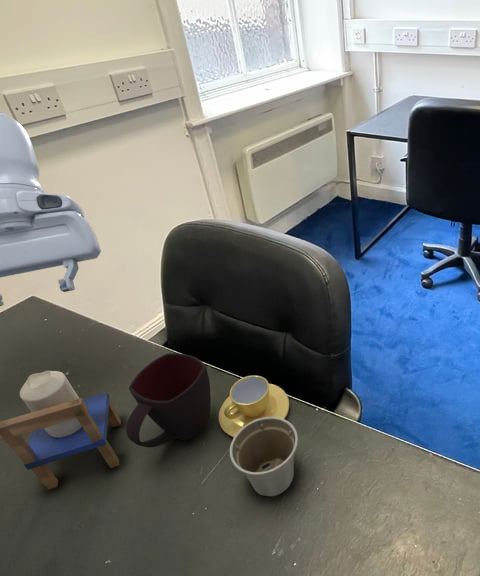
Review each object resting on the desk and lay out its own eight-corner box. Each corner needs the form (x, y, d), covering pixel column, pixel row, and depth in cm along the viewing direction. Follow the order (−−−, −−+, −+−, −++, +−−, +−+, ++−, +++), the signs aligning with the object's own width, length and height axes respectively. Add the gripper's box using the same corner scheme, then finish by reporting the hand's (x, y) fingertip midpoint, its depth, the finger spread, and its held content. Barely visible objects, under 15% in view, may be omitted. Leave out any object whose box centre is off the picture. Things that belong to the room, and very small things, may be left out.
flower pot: (269, 441, 72) (260, 407, 67) (316, 465, 69) (310, 431, 64) (228, 489, 66) (214, 456, 61) (278, 519, 62) (268, 486, 57)
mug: (231, 411, 77) (214, 362, 70) (174, 480, 67) (148, 431, 60) (186, 395, 80) (166, 347, 73) (125, 459, 70) (95, 410, 63)
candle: (39, 431, 66) (5, 386, 60) (72, 404, 70) (43, 359, 65) (64, 443, 65) (31, 398, 59) (97, 414, 69) (69, 370, 63)
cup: (263, 374, 84) (257, 354, 81) (303, 408, 77) (299, 387, 74) (205, 413, 77) (197, 392, 73) (244, 453, 70) (237, 433, 67)
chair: (55, 439, 73) (10, 377, 64) (122, 418, 77) (87, 357, 68) (46, 491, 66) (-7, 429, 57) (120, 466, 69) (80, 403, 60)
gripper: (-85, 219, 62) (-67, 313, 61) (80, 194, 69) (99, 277, 67) (-56, 233, 68) (-39, 319, 66) (93, 209, 75) (112, 286, 73)
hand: (32, 298), depth 67 cm, fingers open, 8 cm apart
